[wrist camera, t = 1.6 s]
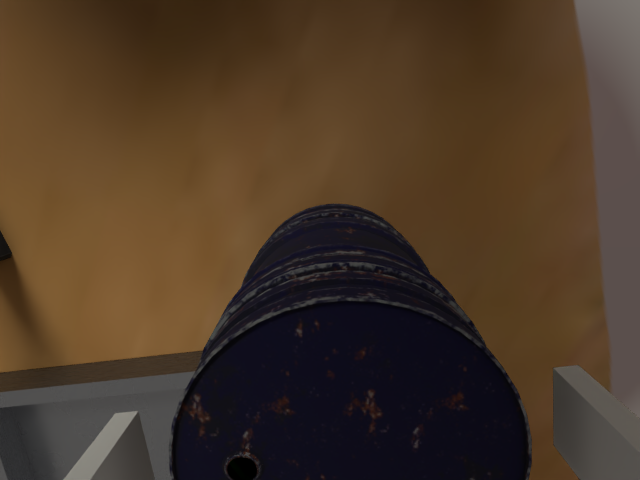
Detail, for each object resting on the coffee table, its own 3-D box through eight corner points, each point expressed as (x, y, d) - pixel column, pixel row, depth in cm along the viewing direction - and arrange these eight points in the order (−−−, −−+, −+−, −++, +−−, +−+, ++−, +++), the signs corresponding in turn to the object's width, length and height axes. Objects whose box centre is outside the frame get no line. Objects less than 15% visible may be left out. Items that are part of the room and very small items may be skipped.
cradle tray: (-7, 373, 28) (-39, 396, 25) (223, 348, 27) (213, 369, 25) (55, 558, 31) (32, 594, 29) (260, 540, 30) (254, 575, 28)
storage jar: (419, 199, 25) (555, 287, 10) (416, 354, 27) (523, 607, 12) (247, 204, 25) (139, 299, 10) (258, 358, 27) (183, 612, 13)
